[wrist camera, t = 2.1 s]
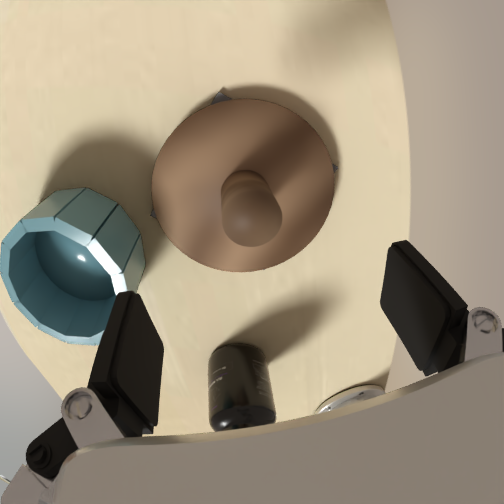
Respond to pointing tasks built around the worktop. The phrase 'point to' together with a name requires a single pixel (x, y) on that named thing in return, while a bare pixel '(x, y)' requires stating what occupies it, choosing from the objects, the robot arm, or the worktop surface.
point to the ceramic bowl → (72, 263)
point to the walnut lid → (242, 185)
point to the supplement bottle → (239, 388)
